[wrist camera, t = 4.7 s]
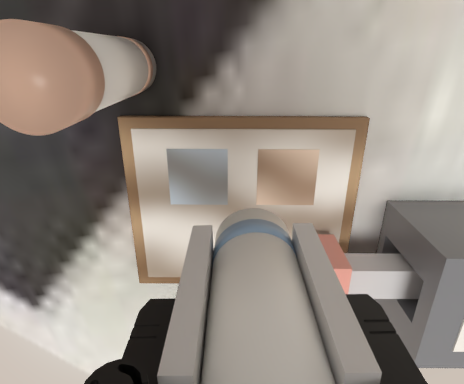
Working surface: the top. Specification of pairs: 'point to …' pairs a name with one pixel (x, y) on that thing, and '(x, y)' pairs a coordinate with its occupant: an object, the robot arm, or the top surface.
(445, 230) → the box
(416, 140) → the top surface
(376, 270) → the plunger
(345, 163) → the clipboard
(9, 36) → the peach marker
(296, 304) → the pale blue cylinder
